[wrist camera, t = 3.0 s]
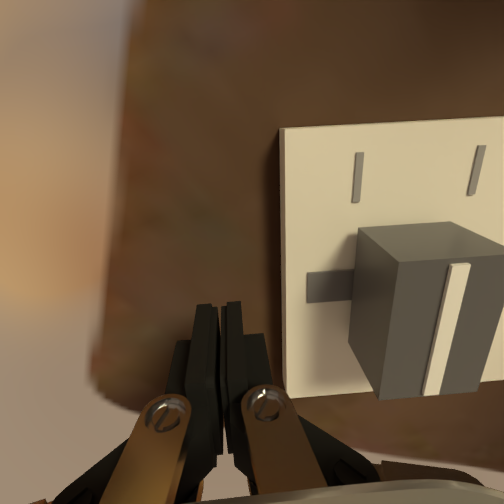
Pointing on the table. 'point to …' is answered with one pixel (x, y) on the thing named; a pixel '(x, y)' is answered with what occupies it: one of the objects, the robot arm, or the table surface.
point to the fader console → (372, 214)
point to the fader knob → (424, 307)
